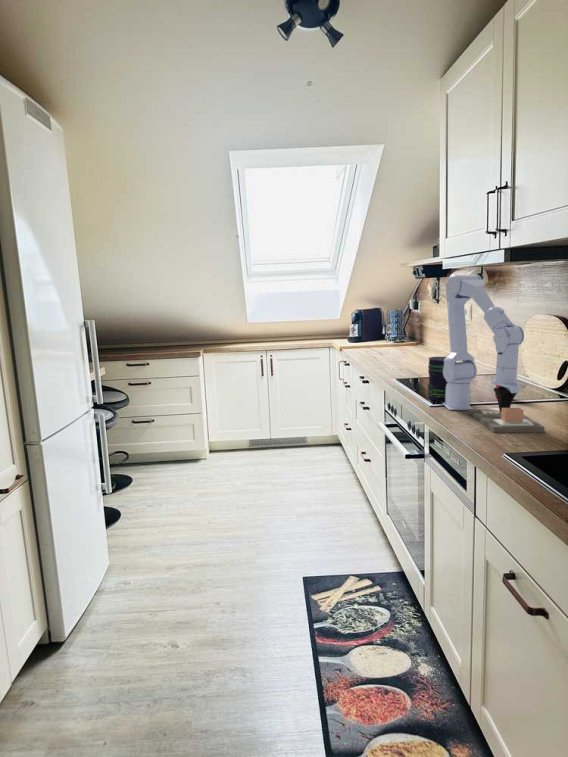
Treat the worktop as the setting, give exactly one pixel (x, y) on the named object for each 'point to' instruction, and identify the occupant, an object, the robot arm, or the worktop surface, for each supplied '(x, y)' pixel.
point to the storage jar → (436, 379)
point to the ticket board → (489, 414)
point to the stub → (512, 418)
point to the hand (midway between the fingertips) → (504, 412)
